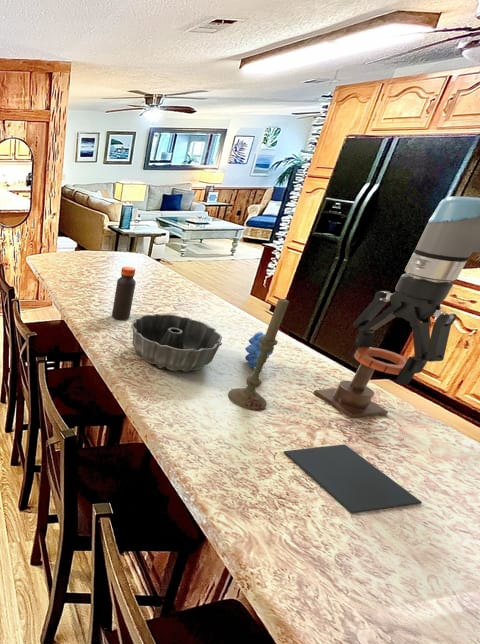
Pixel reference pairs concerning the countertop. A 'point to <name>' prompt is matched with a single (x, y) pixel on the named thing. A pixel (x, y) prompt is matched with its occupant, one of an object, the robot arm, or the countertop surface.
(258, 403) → the candlestick holder
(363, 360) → the ring
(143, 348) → the bundt pan
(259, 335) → the grapes
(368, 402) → the stand
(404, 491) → the mat
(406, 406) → the countertop surface
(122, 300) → the bottle
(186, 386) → the countertop surface
